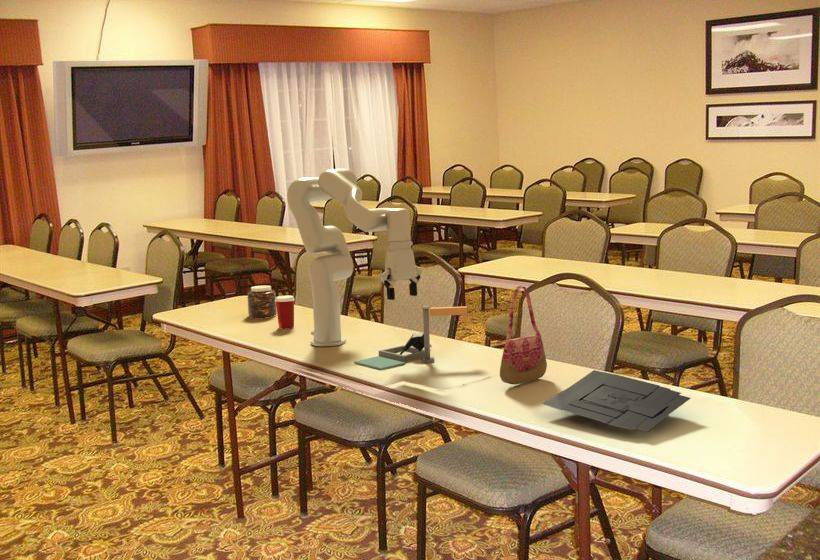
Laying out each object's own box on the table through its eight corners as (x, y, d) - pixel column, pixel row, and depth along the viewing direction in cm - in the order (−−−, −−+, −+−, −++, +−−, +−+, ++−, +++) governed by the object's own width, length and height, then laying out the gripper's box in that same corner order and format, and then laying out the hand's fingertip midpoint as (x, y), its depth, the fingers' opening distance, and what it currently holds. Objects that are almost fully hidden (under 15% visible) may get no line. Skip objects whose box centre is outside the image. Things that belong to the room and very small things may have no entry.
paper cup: (300, 330, 342) (298, 295, 340) (287, 334, 335) (285, 298, 333) (285, 329, 346) (283, 294, 344) (272, 333, 340) (270, 297, 338)
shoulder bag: (506, 387, 246) (504, 290, 242) (499, 385, 248) (496, 289, 244) (547, 376, 256) (545, 283, 252) (540, 375, 258) (538, 282, 255)
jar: (278, 319, 371) (276, 284, 369) (275, 324, 359) (273, 288, 357) (250, 320, 370) (248, 285, 368) (247, 325, 358) (244, 289, 356)
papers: (643, 445, 203) (642, 431, 202) (541, 413, 224) (540, 400, 223) (695, 404, 219) (695, 391, 217) (595, 378, 240) (594, 366, 239)
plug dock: (378, 356, 291) (376, 305, 289) (403, 351, 298) (401, 300, 296) (417, 365, 276) (415, 311, 274) (443, 359, 283) (441, 306, 281)
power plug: (399, 349, 293) (418, 326, 287) (417, 362, 294) (437, 338, 288) (396, 358, 288) (415, 334, 282) (414, 371, 289) (434, 347, 283)
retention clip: (467, 319, 280) (466, 304, 280) (467, 321, 278) (467, 305, 277) (422, 321, 280) (421, 306, 280) (422, 323, 278) (421, 307, 277)
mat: (354, 363, 283) (354, 361, 283) (378, 358, 289) (378, 356, 289) (381, 370, 272) (380, 368, 272) (405, 364, 279) (405, 362, 278)
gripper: (412, 243, 293) (414, 293, 295) (371, 248, 282) (374, 300, 284) (426, 244, 287) (429, 295, 290) (386, 249, 276) (389, 302, 278)
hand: (402, 297), depth 287 cm, fingers open, 9 cm apart
